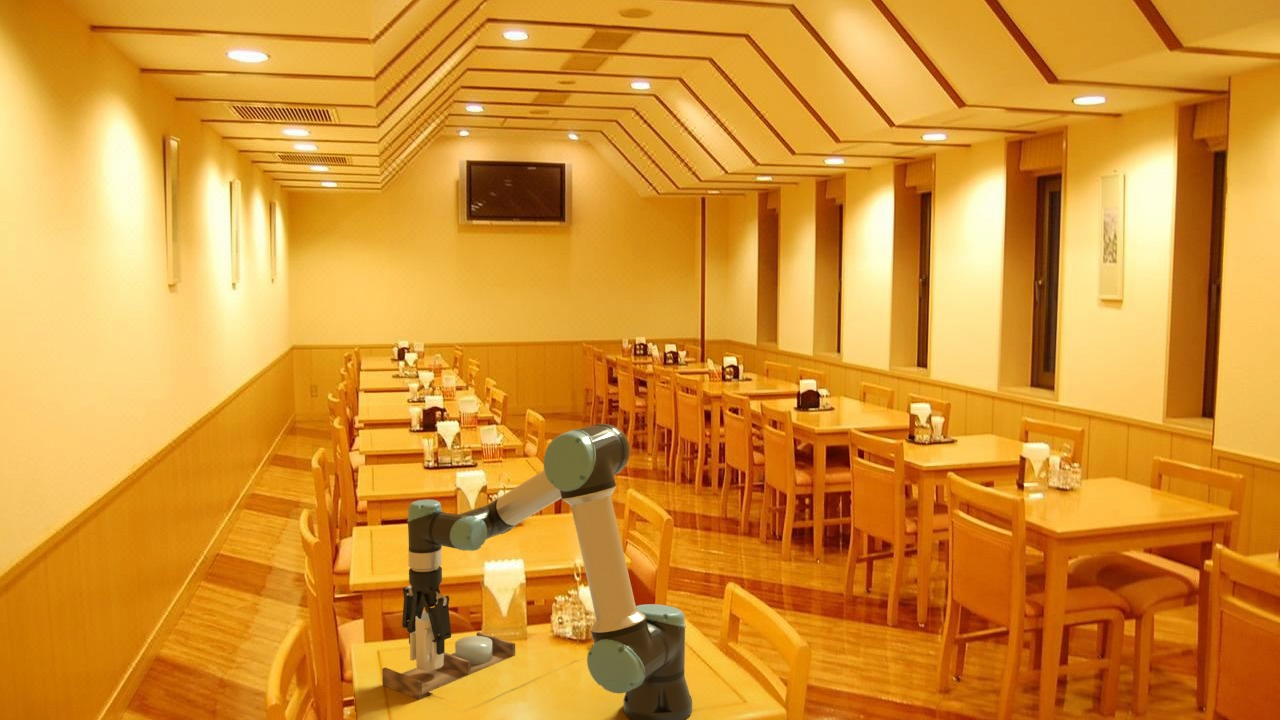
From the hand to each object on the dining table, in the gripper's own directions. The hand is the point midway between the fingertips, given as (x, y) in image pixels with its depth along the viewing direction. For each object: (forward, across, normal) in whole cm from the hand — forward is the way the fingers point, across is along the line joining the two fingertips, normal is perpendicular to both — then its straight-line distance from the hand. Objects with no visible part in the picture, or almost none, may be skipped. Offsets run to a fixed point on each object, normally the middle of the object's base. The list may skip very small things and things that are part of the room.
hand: (426, 662), depth 238 cm
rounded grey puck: (+4, 0, -15) cm, 15 cm away
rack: (+5, 0, -7) cm, 9 cm away
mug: (+1, -1, 0) cm, 2 cm away
